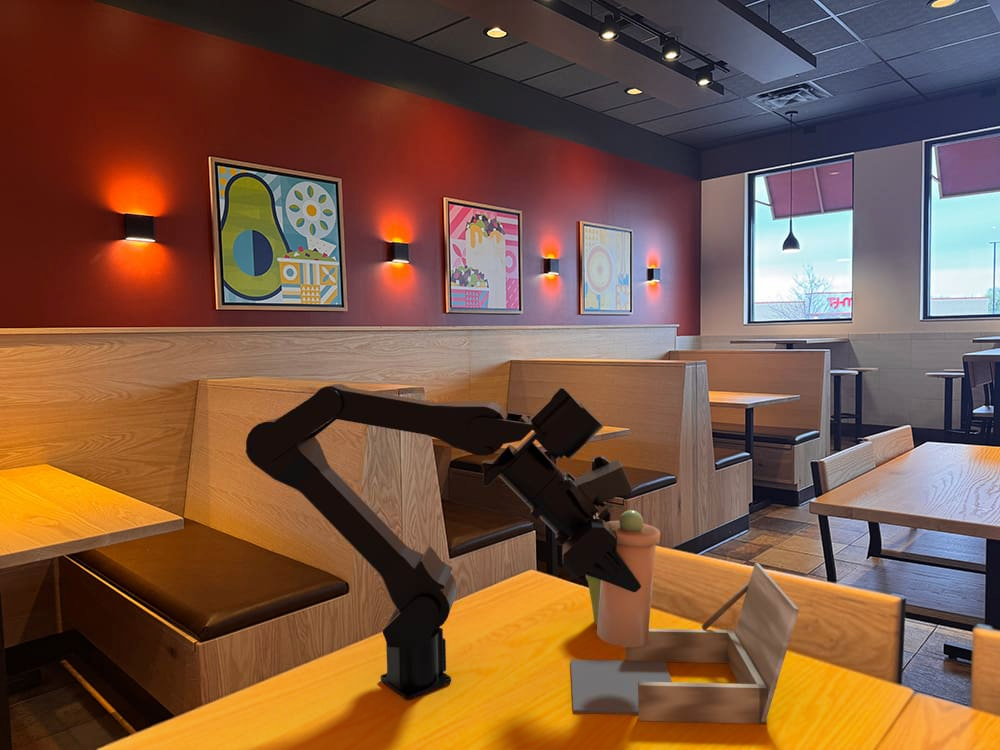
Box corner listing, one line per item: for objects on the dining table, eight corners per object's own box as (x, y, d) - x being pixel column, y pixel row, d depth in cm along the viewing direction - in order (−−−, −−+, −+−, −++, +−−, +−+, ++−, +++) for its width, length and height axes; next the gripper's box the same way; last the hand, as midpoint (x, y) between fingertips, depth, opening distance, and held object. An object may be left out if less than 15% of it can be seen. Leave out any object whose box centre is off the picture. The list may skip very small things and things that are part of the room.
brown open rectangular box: (639, 720, 77) (638, 606, 76) (624, 655, 92) (624, 559, 91) (797, 724, 75) (798, 608, 75) (756, 658, 91) (757, 560, 90)
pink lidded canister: (625, 654, 79) (636, 521, 78) (581, 631, 84) (591, 506, 83) (663, 639, 83) (673, 514, 82) (619, 619, 88) (628, 500, 87)
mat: (573, 712, 78) (573, 710, 78) (570, 661, 90) (570, 659, 90) (682, 715, 78) (682, 712, 78) (665, 663, 90) (665, 661, 89)
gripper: (596, 452, 73) (701, 559, 73) (587, 427, 92) (671, 512, 92) (520, 525, 74) (624, 630, 74) (526, 486, 93) (609, 570, 93)
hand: (635, 579), depth 83 cm, fingers closed on pink lidded canister, 6 cm apart
